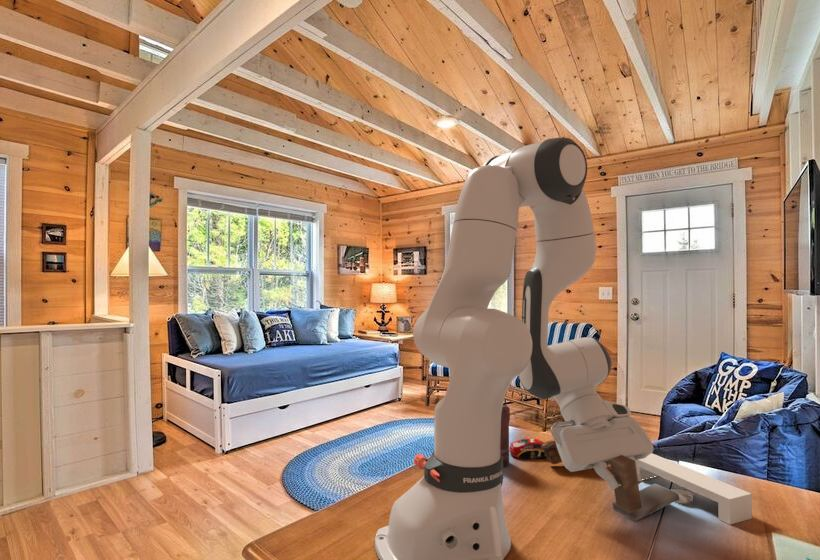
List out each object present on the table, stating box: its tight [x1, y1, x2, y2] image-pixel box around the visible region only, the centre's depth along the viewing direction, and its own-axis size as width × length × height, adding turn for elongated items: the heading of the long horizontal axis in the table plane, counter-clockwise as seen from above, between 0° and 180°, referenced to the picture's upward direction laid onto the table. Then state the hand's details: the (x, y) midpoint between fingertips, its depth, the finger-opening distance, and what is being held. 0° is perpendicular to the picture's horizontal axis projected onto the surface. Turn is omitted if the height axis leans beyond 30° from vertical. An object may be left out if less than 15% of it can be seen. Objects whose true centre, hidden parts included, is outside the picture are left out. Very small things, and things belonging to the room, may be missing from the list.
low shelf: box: [636, 452, 753, 525], centre depth 89 cm, size 6×21×4 cm, turn 21°
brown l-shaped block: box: [610, 455, 679, 522], centre depth 83 cm, size 12×5×10 cm, turn 111°
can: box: [500, 403, 511, 468], centre depth 106 cm, size 6×6×14 cm
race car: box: [509, 438, 547, 460], centre depth 111 cm, size 13×5×4 cm, turn 90°
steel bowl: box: [670, 488, 694, 506], centre depth 87 cm, size 4×4×2 cm
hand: (627, 486), depth 81 cm, fingers closed on brown l-shaped block, 3 cm apart
